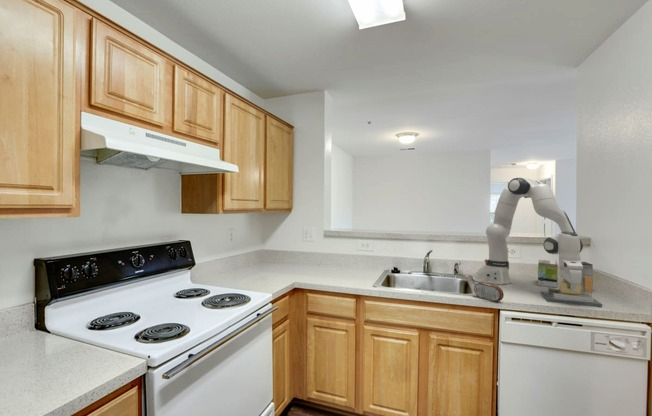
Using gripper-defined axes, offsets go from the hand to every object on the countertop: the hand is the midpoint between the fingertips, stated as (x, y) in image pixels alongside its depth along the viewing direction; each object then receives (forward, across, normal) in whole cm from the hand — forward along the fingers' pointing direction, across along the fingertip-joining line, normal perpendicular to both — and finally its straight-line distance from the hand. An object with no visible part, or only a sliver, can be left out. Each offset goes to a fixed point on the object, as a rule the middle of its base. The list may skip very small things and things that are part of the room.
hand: (569, 289), depth 156 cm
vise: (+6, 0, 0) cm, 6 cm away
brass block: (+5, 0, 0) cm, 5 cm away
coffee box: (+6, -32, +15) cm, 35 cm away
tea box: (+6, -38, -1) cm, 38 cm away
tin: (+6, +14, -39) cm, 42 cm away
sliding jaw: (+4, -7, +1) cm, 8 cm away
